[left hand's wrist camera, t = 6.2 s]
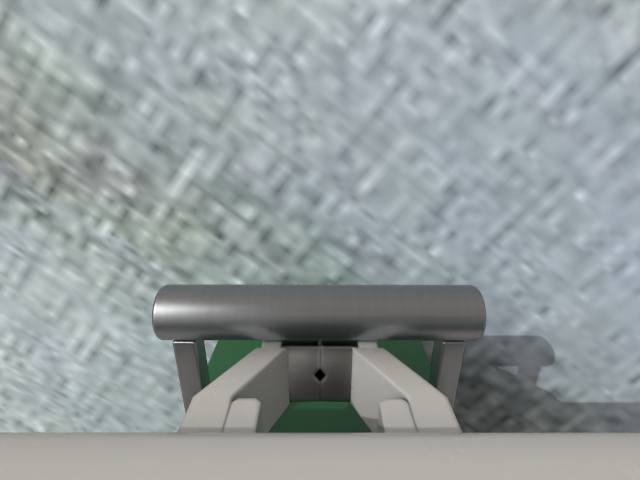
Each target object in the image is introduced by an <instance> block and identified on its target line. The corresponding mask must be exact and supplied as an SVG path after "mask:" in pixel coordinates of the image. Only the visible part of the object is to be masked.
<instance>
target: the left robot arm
mask: <svg viewBox="0 0 640 480" xmlns="http://www.w3.org/2000/svg"><path fill="white" fill-rule="evenodd" d="M312 401H327V402H351V405H352V406H353V408H354V409H355V410H356V412H357V413H358V414H359V416H360V417H361V418H362V420H363V421H364V422H365V424H366V425H367V426H368V427H369V429H370V430H371V431H372V433H268V432H269V430H270V429H271V428H272V426H273V425H274V424H275V422H276V421H277V420H278V418H279V417H280V416H281V415H282V413H283V412H284V411H285V409H286V408H287V407H288V405H289V404H290V403H289V402H312ZM0 480H640V433H462V430H461V428H460V426H459V423H458V421H457V419H456V416H455V414H454V412H453V409H452V407H451V405H450V403H449V400H448V398H447V397H446V396H445V395H444V394H442V393H441V392H440V391H439V390H437V389H436V388H435V387H433V386H432V385H431V384H430V383H428V382H427V381H426V380H424V379H423V378H422V377H421V376H419V375H418V374H417V373H415V372H414V371H413V370H412V369H410V368H409V367H408V366H406V365H405V364H404V363H402V362H401V361H400V360H399V359H397V358H396V357H395V356H393V355H392V354H391V353H390V352H388V351H387V350H386V349H384V348H379V347H378V343H377V340H263V343H262V347H261V348H256V349H254V350H253V351H252V352H250V353H249V354H248V355H246V356H245V357H244V358H243V359H241V360H240V361H239V362H237V363H236V364H235V365H234V366H232V367H231V368H230V369H228V370H227V371H226V372H225V373H223V374H222V375H221V376H219V377H218V378H217V379H215V380H214V381H213V382H212V383H210V384H209V385H208V386H206V387H205V388H204V389H203V390H201V391H200V392H199V393H197V394H196V395H195V396H193V398H192V401H191V403H190V405H189V407H188V410H187V412H186V414H185V417H184V419H183V421H182V423H181V426H180V428H179V430H178V433H0Z"/></svg>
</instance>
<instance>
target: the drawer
mask: <svg viewBox="0 0 640 480" xmlns="http://www.w3.org/2000/svg"><path fill="white" fill-rule="evenodd" d="M152 324H153V329H154V332H155V335H156V336H157V337H158V338H159V339H161V340H174V341H173V347H174V353H175V358H176V363H177V369H178V374H179V380H180V385H181V390H182V396H183V401H184V407H185V412H187V410H188V407H189V405H190V403H191V401H192V398H193V396H195V395H196V394H197V393H199V392H200V391H201V390H203V389H204V388H205V387H206V386H208V385H209V384H210V383H212V382H213V381H214V380H215V379H217V378H218V377H219V376H221V375H222V374H223V373H225V372H226V371H227V370H228V369H230V368H231V367H232V366H234V365H235V364H236V363H237V362H239V361H240V360H241V359H243V358H244V357H245V356H246V355H248V354H249V353H250V352H252V351H253V350H254V349H256V348H261V347H262V343H263V340H377V343H378V347H379V348H384V349H386V350H387V351H388V352H390V353H391V354H392V355H393V356H395V357H396V358H397V359H399V360H400V361H401V362H402V363H404V364H405V365H406V366H408V367H409V368H410V369H412V370H413V371H414V372H415V373H417V374H418V375H419V376H421V377H422V378H423V379H424V380H426V381H427V382H428V383H430V384H431V385H432V386H433V387H435V388H436V389H437V390H439V391H440V392H441V393H442V394H444V395H445V396H446V397H447V398H448V400H449V403H450V405H451V407H452V409H453V408H454V402H455V397H456V392H457V386H458V381H459V376H460V370H461V365H462V360H463V355H464V349H465V340H478V339H480V338H481V337H482V335H483V334H484V331H485V326H486V309H485V304H484V300H483V297H482V295H481V293H480V291H479V290H478V289H477V288H476V287H474V286H472V285H166V286H163V287H162V288H161V289H160V290H159V292H158V293H157V295H156V298H155V301H154V305H153V311H152ZM204 340H218V342H217V345H216V347H215V349H214V352H213V354H212V356H211V359H210V361H209V363H208V365H207V359H206V352H205V345H204ZM420 340H435V341H434V348H433V355H432V361H431V365H430V363H429V360H428V358H427V355H426V353H425V351H424V348H423V346H422V344H421V341H420ZM289 403H290V404H289V405H288V407H287V408H286V409H285V411H284V412H283V413H282V415H281V416H280V417H279V418H278V420H277V421H276V422H275V424H274V425H273V426H272V428H271V429H270V430H269V432H268V433H372V431H371V430H370V429H369V427H368V426H367V425H366V424H365V422H364V421H363V420H362V418H361V417H360V416H359V414H358V413H357V412H356V410H355V409H354V408H353V406H352V405H351V402H327V401H312V402H289Z"/></svg>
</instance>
